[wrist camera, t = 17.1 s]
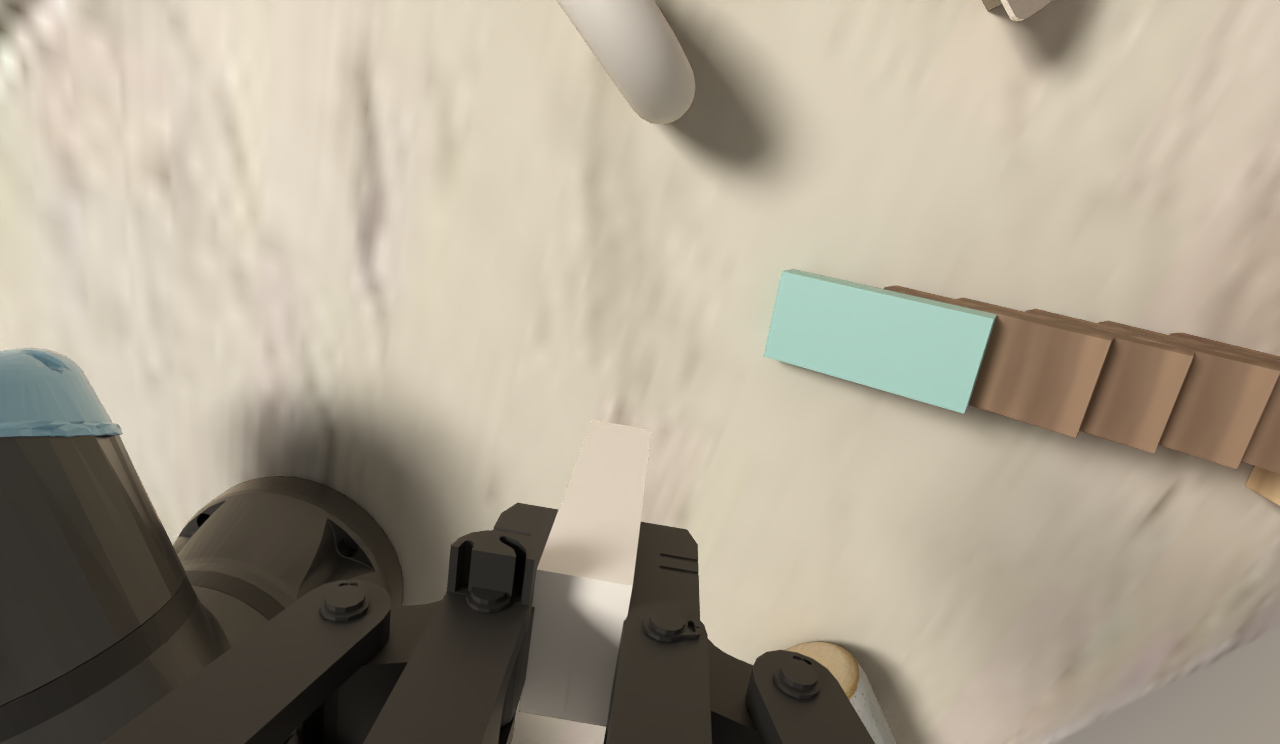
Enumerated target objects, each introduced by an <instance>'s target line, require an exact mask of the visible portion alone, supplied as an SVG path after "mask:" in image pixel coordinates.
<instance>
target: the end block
mask: <svg viewBox="0 0 1280 744" xmlns="http://www.w3.org/2000/svg"><path fill="white" fill-rule="evenodd" d="M1245 486H1246V487H1248V488H1250V489H1251V490H1253V491H1255V492H1257V493H1258V494H1260V495H1262V496H1263V497H1265V498H1267V499H1269V500H1270V501H1272V502H1274V503H1275V504H1277V505H1279V506H1280V474H1278V473H1275V472H1272V471H1269V470H1266V469H1263V468H1260V467H1257V466H1254V468H1253V470H1252V472H1251V474H1250V477H1249V479H1248V481H1247V483H1246V485H1245Z"/></svg>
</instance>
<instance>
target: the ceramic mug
mask: <svg viewBox="0 0 1280 744" xmlns="http://www.w3.org/2000/svg"><path fill="white" fill-rule="evenodd" d="M785 651H792V652H797V653H800V654H802V655H805V656H808V657H810V658H813V659H814V660H816V661H817V662H819V663H820V664H821V665H823V666H824V667H826V668H827V669H828V670H829V671H830V672H831V673H832V675H833V676H834V677H835V678H836V679H837V680H838V682H839V684H840V685H841V687H842V689H843V690H844V692H845V694H846V695H847V697H848V699H849V700H850V702H851V704H852V705H853V707H854V709H855V711H856V712H857V714H858V716H859V717H860V719H861V721H862V722H863V724H864V726H865V727H866V729H867V731H868V732H869V734H870V736H871V737H872V739H873V741H874V742H875V744H897V742H896V740H895V738H894V736H893V734H892V731H891V729H890V727H889V725H888V722H887V720H886V718H885V716H884V714H883V711H882V709H881V707H880V705H879V703H878V701H877V698H876V696H875V694H874V691H873V689H872V687H871V685H870V682H869V680H868V678H867V675H866V674H865V672H864V671H863V669H862V668H861V666H860V665H859V663H858V662H857V660H856V659H855V658H854V657H853V656H852V654H851V653H850V652H848V651H847V650H846V649H844V648H842V647H840V646H838V645H835V644H832V643H826V642H808V643H802V644H799V645H795V646H793V647H791V648H789V649H786V650H785Z"/></svg>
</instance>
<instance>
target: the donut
mask: <svg viewBox="0 0 1280 744" xmlns="http://www.w3.org/2000/svg"><path fill="white" fill-rule="evenodd" d="M557 2H558V3H559V4H560V6H561V7H562V9H563V10H564V12H565V13H566V15H567V16H568V17H569V19H570V20H571V22H572V23H573V25H574V26H575V27H576V29H577V30H578V32H579V33H580V35H581V36H582V38H583V39H584V40H585V42H586V43H587V45H588V46H589V48H590V49H591V50H592V52H593V53H594V55H595V56H596V58H597V59H598V60H599V62H600V63H601V65H602V66H603V68H604V69H605V70H606V72H607V73H608V75H609V76H610V78H611V79H612V80H613V82H614V83H615V85H616V86H617V88H618V89H619V90H620V92H621V93H622V95H623V96H624V98H625V99H626V100H627V102H628V103H629V105H630V106H631V107H632V109H633V110H634V111H635V112H636V113H637V114H638V115H639V116H640V117H641V118H642V119H644V120H646V121H648V122H650V123H654V124H667V123H672V122H674V121H675V120H677V119H679V118H681V117H682V116H683V115H684V114H685V113H686V112H687V111H688V109H689V108H690V106H691V103H692V101H693V99H694V94H695V88H696V87H695V80H694V74H693V70H692V68H691V66H690V64H689V61H688V59H687V57H686V55H685V53H684V51H683V49H682V47H681V45H680V43H679V42H678V40H677V38H676V36H675V34H674V33H673V31H672V29H671V27H670V26H669V24H668V22H667V21H666V19H665V17H664V16H663V14H662V12H661V11H660V9H659V8H658V6H657V4H656V3H655V1H654V0H557Z"/></svg>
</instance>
